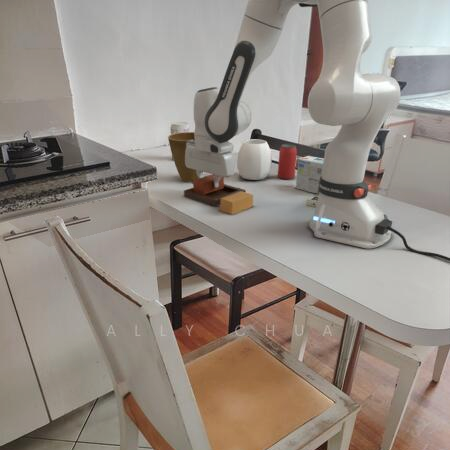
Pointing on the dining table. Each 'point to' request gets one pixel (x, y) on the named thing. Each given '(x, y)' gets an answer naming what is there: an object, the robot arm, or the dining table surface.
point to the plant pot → (182, 155)
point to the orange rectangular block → (236, 202)
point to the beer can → (287, 161)
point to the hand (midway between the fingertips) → (208, 185)
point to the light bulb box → (309, 173)
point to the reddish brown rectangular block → (206, 184)
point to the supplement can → (179, 128)
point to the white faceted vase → (254, 159)
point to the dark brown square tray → (212, 195)
